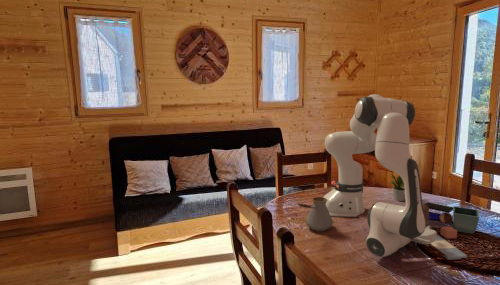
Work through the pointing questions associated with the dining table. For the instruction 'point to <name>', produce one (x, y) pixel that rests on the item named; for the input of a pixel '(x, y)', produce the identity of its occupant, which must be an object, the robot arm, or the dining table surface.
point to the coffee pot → (318, 215)
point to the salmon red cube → (448, 232)
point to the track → (448, 249)
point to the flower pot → (465, 219)
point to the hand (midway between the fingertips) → (415, 223)
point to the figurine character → (437, 216)
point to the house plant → (398, 188)
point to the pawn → (426, 213)
